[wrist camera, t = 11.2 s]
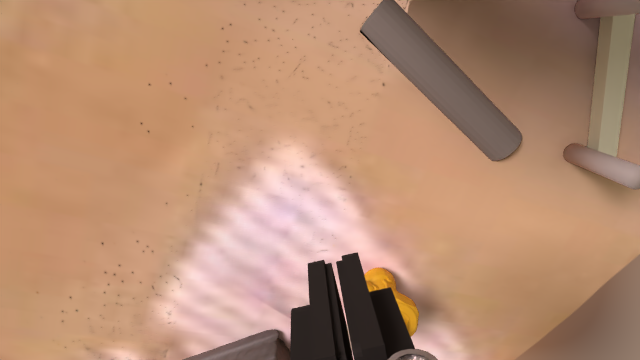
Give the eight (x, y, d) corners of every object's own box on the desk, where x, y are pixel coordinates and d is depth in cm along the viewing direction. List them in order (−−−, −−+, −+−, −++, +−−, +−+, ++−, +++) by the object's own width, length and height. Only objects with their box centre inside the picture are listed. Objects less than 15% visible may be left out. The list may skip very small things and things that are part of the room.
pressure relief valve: (407, 269, 42) (439, 333, 33) (350, 341, 46) (364, 419, 36) (367, 248, 41) (388, 308, 32) (312, 324, 44) (316, 400, 35)
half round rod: (489, 161, 39) (497, 167, 37) (355, 31, 34) (357, 30, 32) (520, 131, 38) (530, 135, 36) (387, -8, 33) (392, -11, 31)
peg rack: (576, -16, 33) (658, -34, 26) (626, -24, 33) (722, -44, 26) (561, 172, 39) (624, 201, 32) (603, 165, 39) (675, 193, 32)
